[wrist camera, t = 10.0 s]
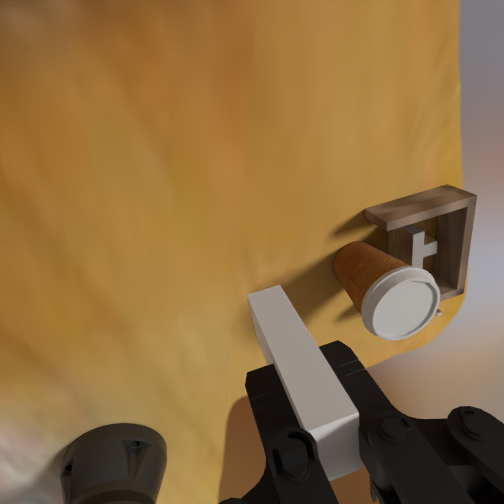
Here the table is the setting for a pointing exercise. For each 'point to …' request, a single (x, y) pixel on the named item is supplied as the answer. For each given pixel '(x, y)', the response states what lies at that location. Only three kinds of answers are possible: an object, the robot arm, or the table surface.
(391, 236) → the gauge plunger
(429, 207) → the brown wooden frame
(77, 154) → the table surface
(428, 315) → the disposable coffee cup
